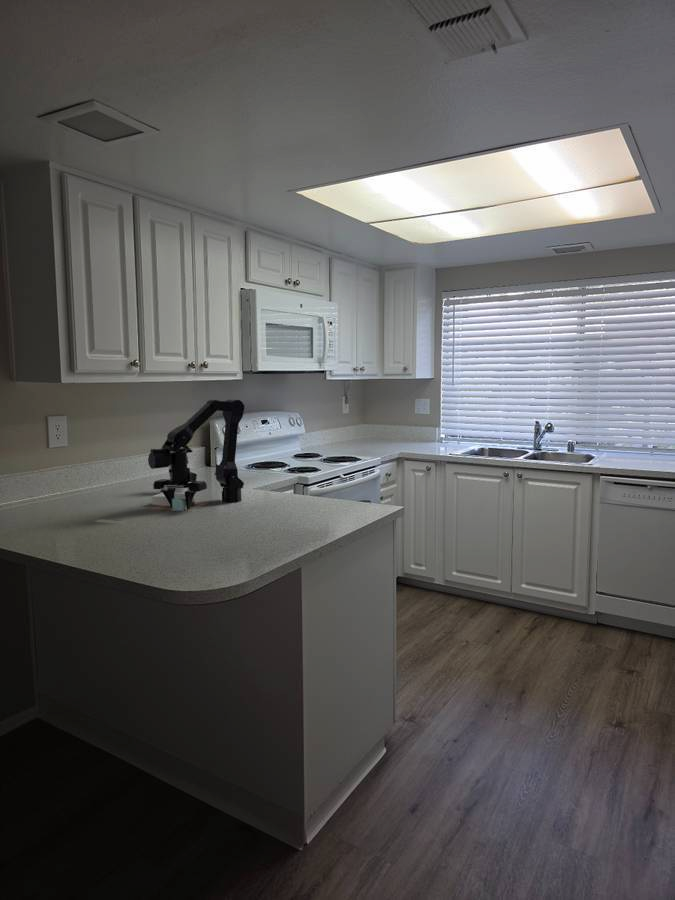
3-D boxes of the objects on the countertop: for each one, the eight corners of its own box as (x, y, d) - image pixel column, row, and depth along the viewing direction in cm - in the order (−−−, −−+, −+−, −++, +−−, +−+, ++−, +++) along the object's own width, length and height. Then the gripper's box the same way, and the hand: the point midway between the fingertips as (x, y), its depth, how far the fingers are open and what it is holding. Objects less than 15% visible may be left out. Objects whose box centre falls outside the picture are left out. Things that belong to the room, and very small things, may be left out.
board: (207, 506, 232) (207, 503, 232) (187, 514, 219) (187, 511, 219) (165, 503, 238) (165, 500, 238) (143, 511, 224) (143, 508, 224)
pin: (195, 505, 229) (195, 495, 229) (193, 505, 228) (193, 496, 228) (192, 504, 230) (191, 495, 229) (190, 505, 228) (189, 496, 228)
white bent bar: (190, 501, 234) (190, 493, 233) (178, 506, 226) (177, 497, 226) (165, 500, 237) (164, 492, 237) (152, 504, 229) (151, 496, 229)
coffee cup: (186, 494, 255) (185, 458, 253) (166, 494, 255) (164, 458, 253) (191, 490, 263) (190, 455, 261) (172, 490, 263) (170, 455, 262)
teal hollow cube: (189, 508, 224) (188, 497, 223) (182, 511, 220) (182, 499, 219) (178, 507, 225) (178, 497, 224) (172, 510, 221) (172, 499, 220)
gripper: (213, 463, 225) (215, 505, 227) (169, 461, 231) (170, 502, 233) (197, 468, 214) (199, 512, 216) (151, 466, 220) (153, 509, 222)
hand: (180, 508), depth 222 cm, fingers open, 6 cm apart
